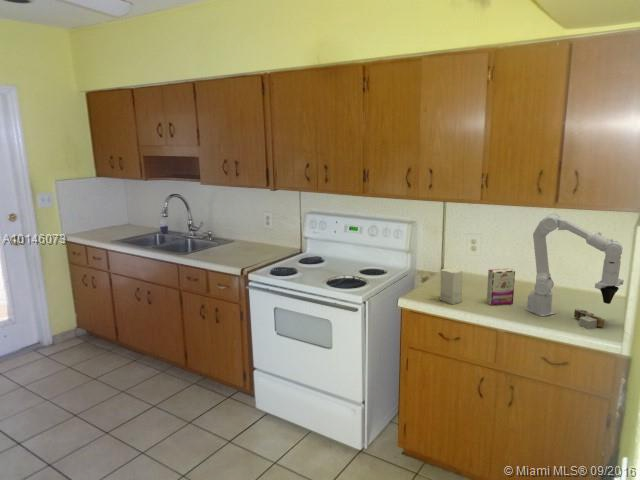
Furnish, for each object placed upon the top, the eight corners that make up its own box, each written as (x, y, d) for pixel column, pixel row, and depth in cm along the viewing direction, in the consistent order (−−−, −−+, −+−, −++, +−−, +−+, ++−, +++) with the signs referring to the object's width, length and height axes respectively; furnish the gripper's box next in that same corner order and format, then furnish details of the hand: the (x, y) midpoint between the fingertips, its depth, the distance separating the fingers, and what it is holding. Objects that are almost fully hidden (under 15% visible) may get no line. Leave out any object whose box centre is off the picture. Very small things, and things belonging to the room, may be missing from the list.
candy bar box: (507, 300, 222) (510, 267, 218) (513, 304, 217) (516, 270, 214) (485, 302, 220) (488, 269, 217) (491, 305, 215) (493, 272, 212)
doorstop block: (578, 325, 192) (579, 317, 192) (586, 323, 194) (587, 316, 193) (588, 329, 188) (589, 321, 188) (596, 327, 190) (597, 319, 189)
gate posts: (575, 319, 198) (576, 312, 197) (585, 317, 200) (585, 310, 199) (585, 323, 194) (585, 316, 193) (594, 321, 196) (595, 314, 196)
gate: (572, 317, 199) (573, 309, 199) (577, 316, 201) (578, 308, 200) (600, 327, 188) (601, 319, 187) (605, 326, 189) (606, 318, 189)
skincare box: (461, 302, 220) (463, 271, 217) (451, 305, 217) (453, 273, 214) (448, 297, 227) (450, 266, 224) (439, 299, 224) (440, 268, 221)
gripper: (608, 276, 182) (604, 308, 184) (632, 271, 187) (628, 303, 190) (591, 271, 188) (587, 303, 191) (615, 267, 193) (611, 298, 196)
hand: (606, 303), depth 191 cm, fingers closed
